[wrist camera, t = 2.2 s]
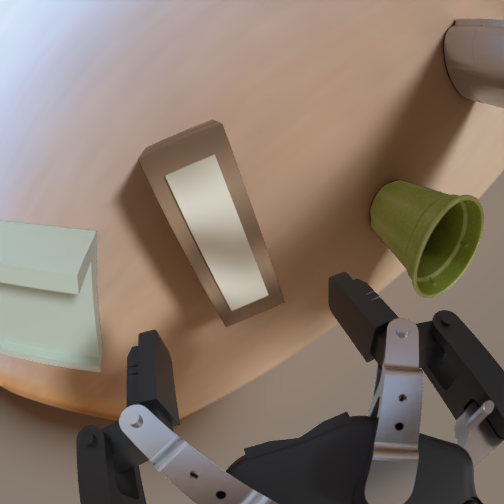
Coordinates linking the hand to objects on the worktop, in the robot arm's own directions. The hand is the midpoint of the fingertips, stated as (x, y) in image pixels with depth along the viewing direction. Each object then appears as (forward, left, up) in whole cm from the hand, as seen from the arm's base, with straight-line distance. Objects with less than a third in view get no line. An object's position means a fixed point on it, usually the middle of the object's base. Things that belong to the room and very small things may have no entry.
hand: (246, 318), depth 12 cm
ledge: (+9, -19, -11) cm, 24 cm away
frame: (0, 0, -12) cm, 12 cm away
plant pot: (-4, +17, -12) cm, 21 cm away
